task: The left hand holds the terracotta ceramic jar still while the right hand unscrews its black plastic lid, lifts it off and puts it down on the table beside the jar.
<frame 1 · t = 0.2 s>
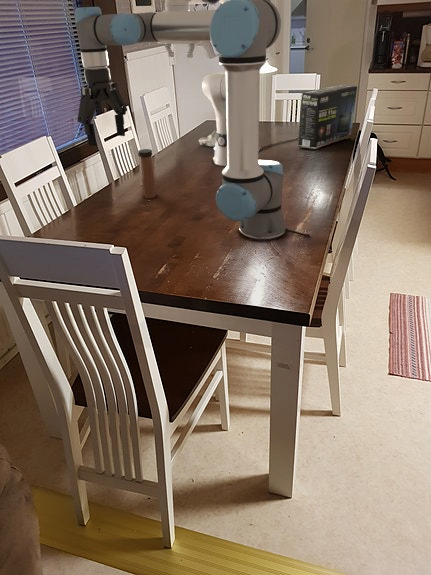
left hand: (180, 57, 175), 48 cm above the table, tool pointing down, fingers open, 8 cm apart
right hand: (107, 140, 148), 28 cm above the table, tool pointing down, fingers open, 13 cm apart
jar: (150, 196, 183), on the table
lid: (145, 151, 174), point 18 cm above the table, screwed on, not yet turned
fossil: (214, 144, 250), on the table
router box: (325, 143, 245), on the table
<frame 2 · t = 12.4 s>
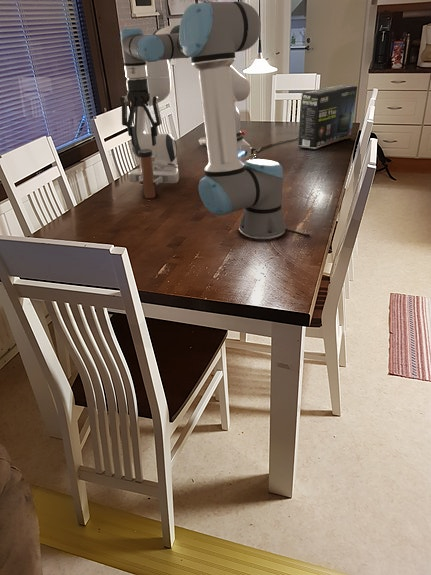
left hand: (147, 182, 179), 6 cm above the table, tool horizontal, fingers closed on jar, 4 cm apart
right hand: (144, 144, 173), 20 cm above the table, tool pointing down, fingers open, 7 cm apart
jar: (150, 196, 183), on the table, touching left hand
everything else where it was.
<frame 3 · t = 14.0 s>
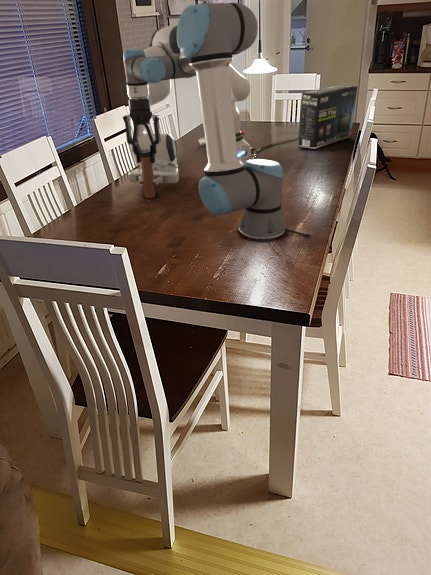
left hand: (147, 182, 179), 6 cm above the table, tool horizontal, fingers closed on jar, 4 cm apart
right hand: (146, 162, 176), 14 cm above the table, tool pointing down, fingers closed on lid, 5 cm apart
jar: (150, 196, 183), on the table, touching left hand
lid: (145, 151, 174), point 18 cm above the table, screwed on, not yet turned, touching right hand
everything else where it was.
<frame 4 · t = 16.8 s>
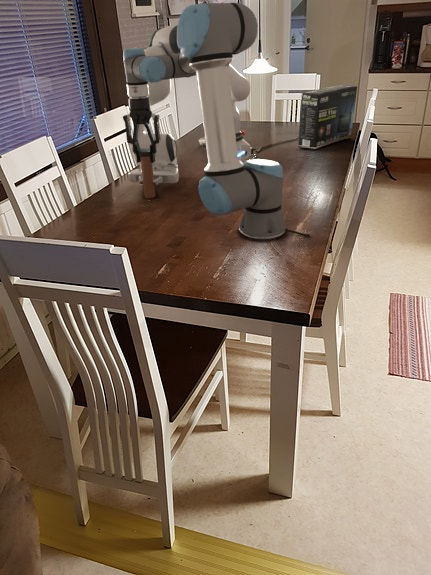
left hand: (147, 182, 179), 6 cm above the table, tool horizontal, fingers closed on jar, 4 cm apart
right hand: (146, 161, 176), 14 cm above the table, tool pointing down, fingers closed on lid, 5 cm apart
jar: (150, 196, 183), on the table, touching left hand
lid: (145, 151, 174), point 18 cm above the table, turned 76° so far, risen 0.2 cm, still on its thread, touching right hand
everything else where it was.
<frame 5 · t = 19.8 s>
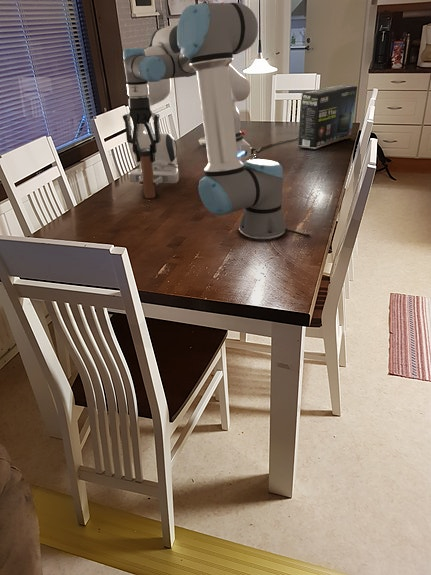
left hand: (147, 182, 179), 6 cm above the table, tool horizontal, fingers closed on jar, 4 cm apart
right hand: (146, 161, 176), 14 cm above the table, tool pointing down, fingers closed on lid, 5 cm apart
jar: (150, 196, 183), on the table, touching left hand
lid: (145, 150, 174), point 18 cm above the table, turned 153° so far, risen 0.3 cm, still on its thread, touching right hand
everything else where it was.
when the right hand's fingers open (0 cm above the table, at t = 25.9 s): lid drops 3 cm, point 1 cm above the table.
when the left hand's fingers open (6 cm above the table, at t = 26.6 s): jar stays where it is, on the table.
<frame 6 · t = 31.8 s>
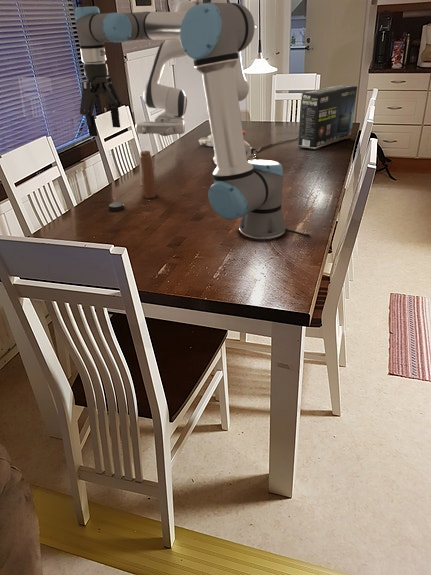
left hand: (154, 132, 183), 22 cm above the table, tool horizontal, fingers open, 8 cm apart
right hand: (105, 131, 158), 28 cm above the table, tool pointing down, fingers open, 13 cm apart
jar: (150, 196, 183), on the table
lid: (116, 205, 172), point 1 cm above the table, off its thread
everything else where it was.
at the end: lid came off its thread; lid point 1.4 cm above the table; the left hand is holding nothing; the right hand is holding nothing; jar tilted 0°; jar moved 0.0 cm from its start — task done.
